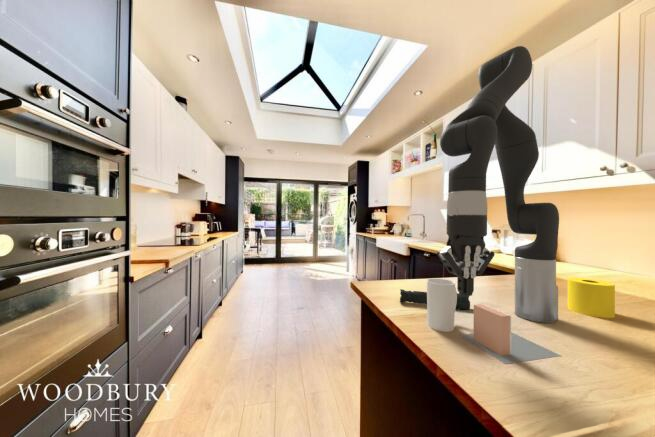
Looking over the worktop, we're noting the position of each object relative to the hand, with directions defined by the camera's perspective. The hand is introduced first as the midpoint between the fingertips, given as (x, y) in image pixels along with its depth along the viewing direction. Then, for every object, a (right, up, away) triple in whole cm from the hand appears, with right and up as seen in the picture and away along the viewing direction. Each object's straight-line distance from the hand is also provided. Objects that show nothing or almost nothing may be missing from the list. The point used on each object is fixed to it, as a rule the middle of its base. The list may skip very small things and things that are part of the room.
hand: (465, 294), depth 52 cm
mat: (+10, -12, +2) cm, 16 cm away
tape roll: (+53, -13, +24) cm, 59 cm away
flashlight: (+5, -13, +28) cm, 31 cm away
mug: (+1, -12, +12) cm, 18 cm away
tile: (+6, -12, +1) cm, 13 cm away
